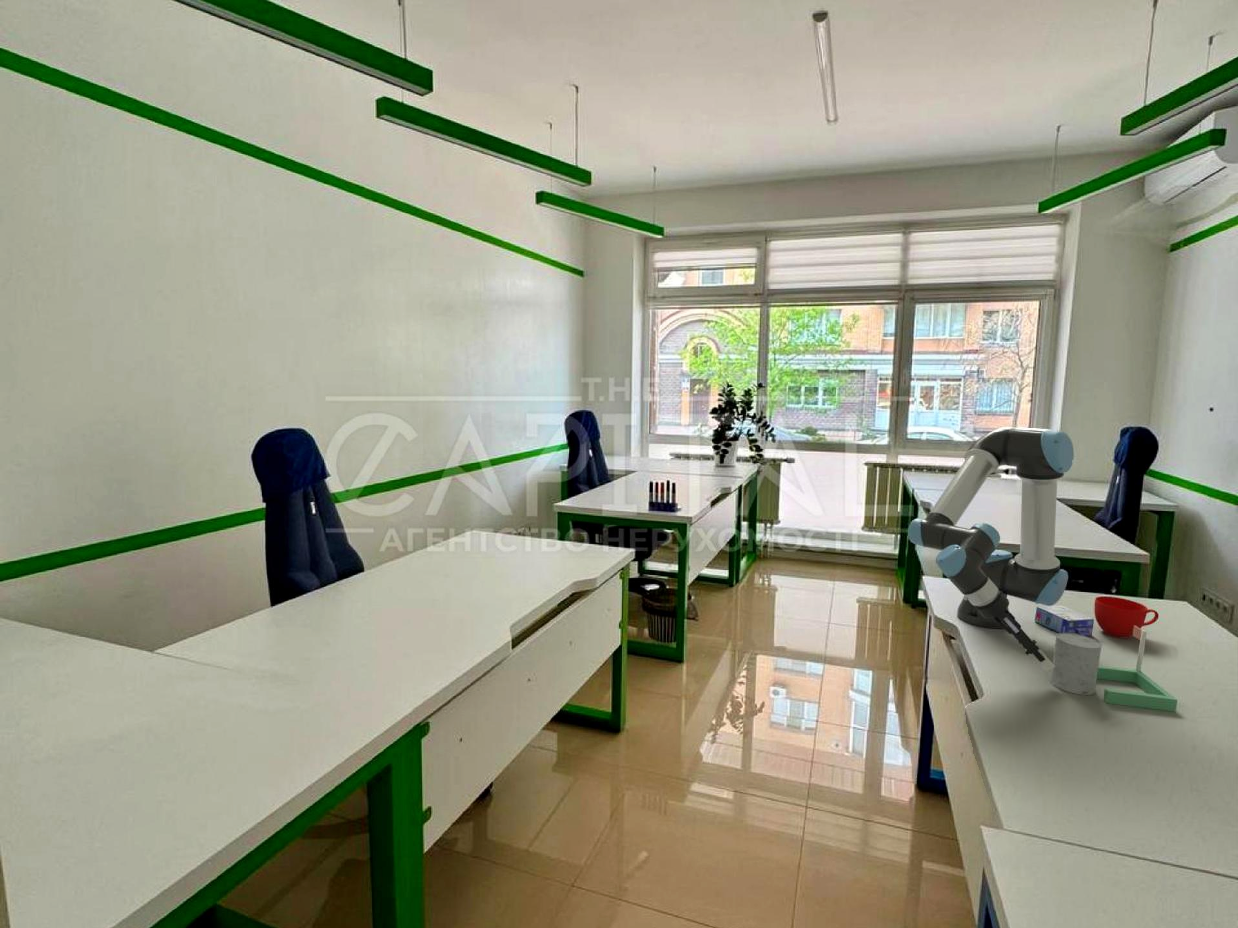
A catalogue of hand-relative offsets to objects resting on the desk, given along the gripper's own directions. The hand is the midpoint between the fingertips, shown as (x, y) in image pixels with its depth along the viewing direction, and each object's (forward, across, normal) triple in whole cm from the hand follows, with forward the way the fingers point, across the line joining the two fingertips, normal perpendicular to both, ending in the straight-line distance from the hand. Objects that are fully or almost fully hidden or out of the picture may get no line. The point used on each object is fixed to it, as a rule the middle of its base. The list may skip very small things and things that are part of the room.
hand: (1049, 668), depth 164 cm
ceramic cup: (+30, -46, +24) cm, 59 cm away
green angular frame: (+15, -3, +9) cm, 18 cm away
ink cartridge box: (+14, -51, +12) cm, 54 cm away
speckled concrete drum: (+8, -1, +1) cm, 8 cm away
